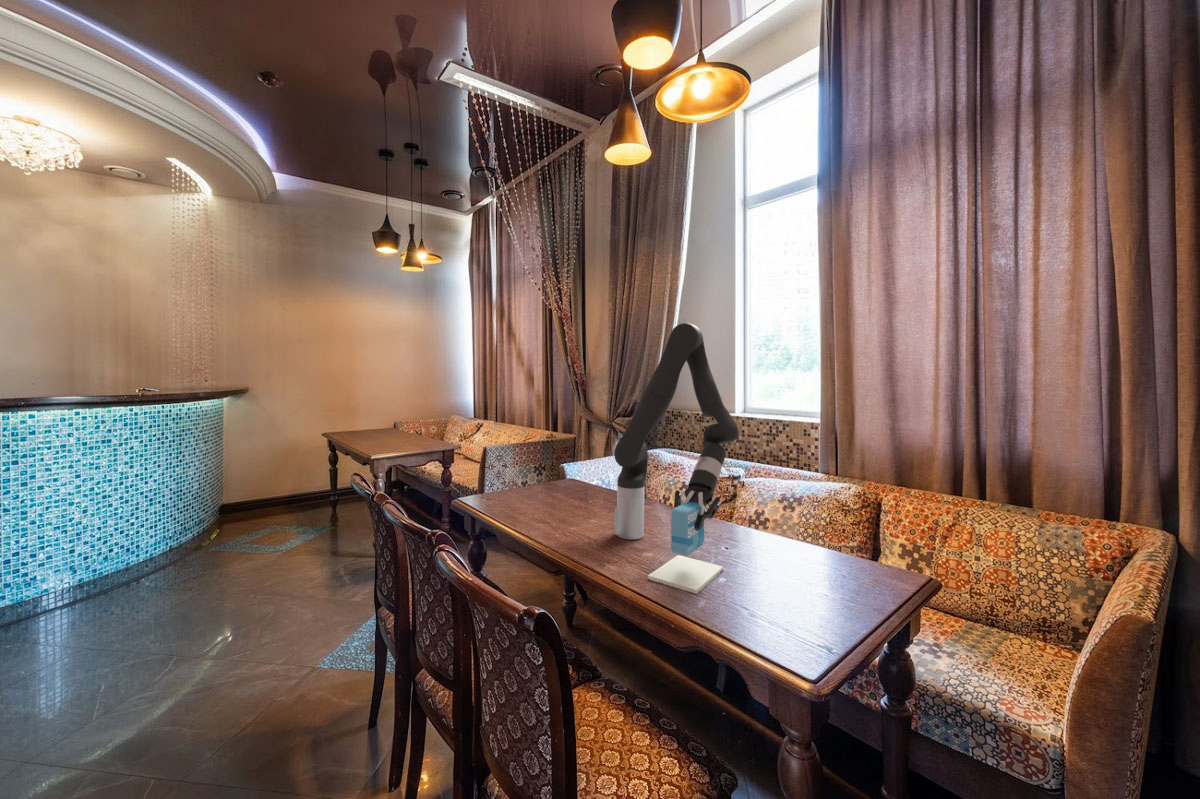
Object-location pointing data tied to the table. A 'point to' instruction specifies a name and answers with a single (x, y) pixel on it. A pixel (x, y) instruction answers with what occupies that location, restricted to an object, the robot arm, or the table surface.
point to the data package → (685, 529)
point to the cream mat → (686, 573)
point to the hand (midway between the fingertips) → (687, 527)
